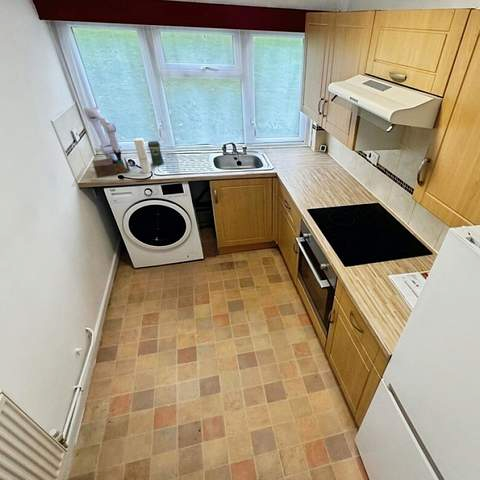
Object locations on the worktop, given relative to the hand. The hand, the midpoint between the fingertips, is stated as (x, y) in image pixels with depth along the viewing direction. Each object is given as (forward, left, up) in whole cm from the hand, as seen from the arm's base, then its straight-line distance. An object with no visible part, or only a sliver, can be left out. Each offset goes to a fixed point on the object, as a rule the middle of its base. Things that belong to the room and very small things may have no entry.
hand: (119, 159), depth 239 cm
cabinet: (+9, -8, -9) cm, 16 cm away
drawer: (0, +1, -8) cm, 8 cm away
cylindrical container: (-6, +19, -9) cm, 22 cm away
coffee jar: (-25, +17, -10) cm, 32 cm away
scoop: (+2, -1, -7) cm, 8 cm away
